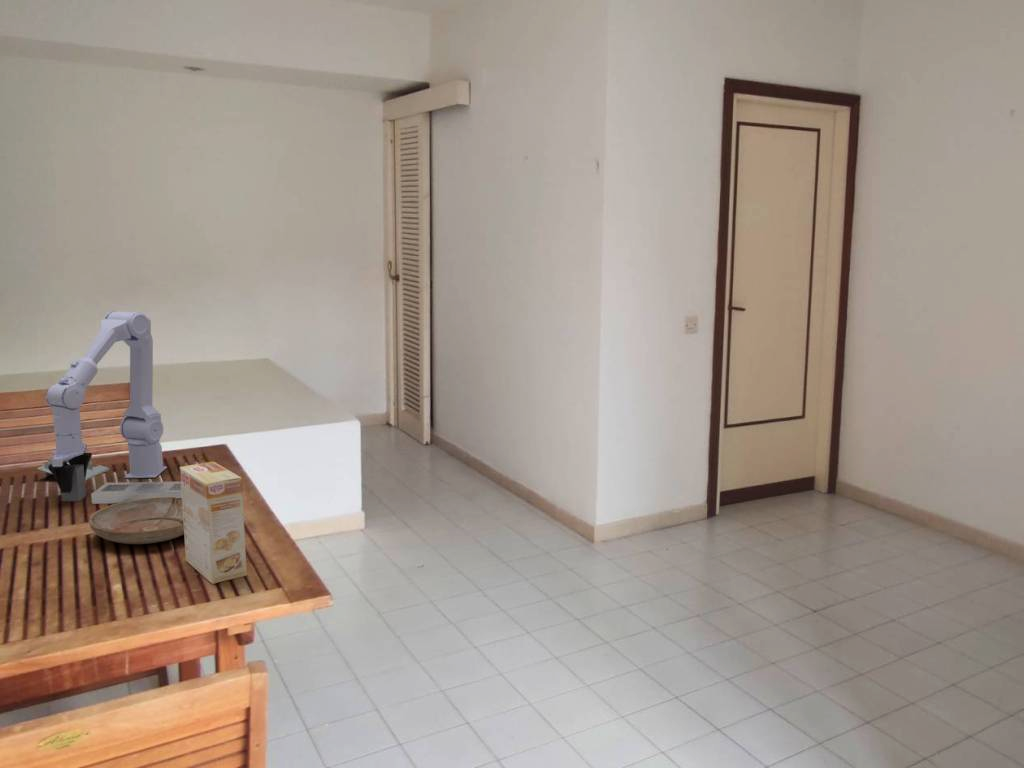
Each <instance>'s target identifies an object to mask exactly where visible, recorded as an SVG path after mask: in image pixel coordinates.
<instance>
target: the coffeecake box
mask: <svg viewBox="0 0 1024 768" xmlns="http://www.w3.org/2000/svg"><path fill="white" fill-rule="evenodd" d="M179 475H180V476H179V478H180V481H181V494H182V509H183V524H184V535H183V536H184V551H185V554H184V555H185V561H186V562H187V563H188V564H189V565H190V566H191V567H192V568H194V569H195V570H196V571H197V572H198V573H199V574H201V575H202V576H203V577H204V578H205V579H206V580H207V581H208V582H209V583H211V584H212V585H215V584H217V583H222V582H225V581H229V580H236V579H238V578H239V579H240V578H242V577H246V576H248V570H247V553H246V552H247V549H246V536H245V534H246V533H245V531H246V530H245V518H244V517H245V516H244V499H243V494H244V493H243V478H242V477H241V476H240V475H238V474H236V473H234V472H232V471H231V470H229V469H227V468H226V467H224V466H222V465H221V464H218V463H217V462H215V461H208V462H207V461H206V462H201V463H195V464H189V465H184V466H180V467H179Z"/></svg>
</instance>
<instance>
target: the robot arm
mask: <svg viewBox="0 0 1024 768" xmlns="http://www.w3.org/2000/svg"><path fill="white" fill-rule="evenodd" d="M151 324H152V321H151V319H150V318H149V317H148V316H147V315H146V314H145V313H143V312H142V311H133V312H131V311H119V310H110V311H108V312H107V313H106V314H105V315H104V318H103V319H102V320H101V321H100V330H99V331H98V332H97V334H96V336H95V338H94V339H93V341H92V343H91V344H90V345H89V348H88V349H87V351H86V352H85V354H84V355H83V357H78V358H75V359H74V360H72V361H71V362H70V364H69V365H70V366H69V368H68V369H67V370H66V372H65V373H64V374H63V376H62V377H60V379H59V381H58V383H55V384H53V385H51V387H49V389H48V390H47V391H46V396H45V397H44V398H45V399H44V400H45V402H46V404H47V405H48V406H49V407H50V413H51V414H52V419H53V421H52V422H53V430H54V441H55V449H54V450H53V451H51V455H52V456H53V458H51V459H52V464H50V465H49V466H48V468H49V470H50V471H51V473H52V474H51V475H53V477H54V478H55V481H56V483H57V485H58V488H59V491H60V493H70V492H71V490H72V476H73V471H74V468H75V466H76V465H83V466H84V477H85V478H86V472H87V467H88V464H89V462H91V461H90V460H91V458H92V457H93V453H92V452H88V445H87V443H83V434H82V424H81V423H82V422H81V421H82V420H81V411H80V406H81V405H82V404H84V402H85V397H86V395H85V394H86V392H87V387H89V385H90V384H91V383H92V380H93V379H95V377H96V375H97V373H98V372H99V370H98V363H100V362H101V360H102V359H103V358H104V356H105V355H106V354H107V353H108V352H109V350H110V349H111V348H112V347H113V346H114V344H115V343H117V342H122V341H123V342H124V344H126V345H127V346H128V347H129V407H127V408H126V409H125V410H124V411H123V413H122V420H121V422H120V425H119V432H120V435H121V437H122V438H123V439H125V442H126V443H127V447H128V459H129V471H130V472H129V473H127V474H126V475H125V476H124V478H125V479H154V478H157V477H158V476H159V475H160V474H161V473H163V472H164V471H165V470H166V469H167V468H168V467H167V466H164V464H163V463H164V461H163V459H164V458H163V447H162V444H161V443H160V440H161V438H162V436H163V434H164V424H163V422H162V417H161V416H162V414H161V413H160V412H159V411H158V410H157V409H156V408H155V407H154V406H153V383H154V381H153V378H154V377H153V376H154V375H153V373H154V371H153V369H154V368H153V366H154V365H153V364H154V362H153V361H154V360H153V358H154V355H153V354H154V347H153V346H154V341H153V340H154V339H153V337H152V330H151V327H152V325H151ZM67 461H68V462H69V464H70V465H68V463H67Z"/></svg>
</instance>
